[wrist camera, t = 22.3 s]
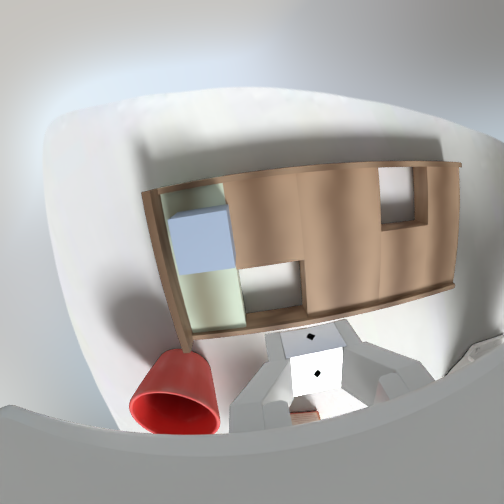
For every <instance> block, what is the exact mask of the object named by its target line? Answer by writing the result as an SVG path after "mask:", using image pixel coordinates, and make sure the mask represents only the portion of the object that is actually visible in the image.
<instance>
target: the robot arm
mask: <svg viewBox="0 0 504 504" xmlns="http://www.w3.org/2000/svg"><path fill="white" fill-rule="evenodd" d="M265 341H266V347H267V354H268V361H269V362H266V363H264V364H263V366H262V367H261V368H260V369H259V371H258V372H257V373H256V374H255V376H254V377H253V378H252V379H251V381H250V382H249V383H248V384H247V386H246V387H245V388H244V389H243V390H242V392H241V393H240V394H239V395H238V396H237V398H236V399H235V400H234V401H233V402H232V404H231V405H230V418H229V433H227V434H206V435H172V434H151V433H138V432H128V431H120V430H112V429H105V428H99V427H94V426H88V425H83V424H78V423H73V422H69V421H65V420H61V419H56V418H53V417H49V416H46V415H42V414H39V413H35V412H32V411H29V410H26V409H23V408H21V407H18V406H15V405H8V406H5V407H2V408H0V504H504V336H503V335H500V336H497V337H494V338H491V339H488V340H485V341H482V342H479V343H475V344H473V345H472V346H471V347H470V348H469V350H468V351H467V352H466V354H465V355H464V357H463V358H462V359H461V360H460V361H459V362H458V363H457V364H456V365H455V366H454V367H453V368H452V369H451V371H450V372H449V373H448V374H447V376H445V377H443V378H441V379H439V380H436V381H435V380H434V378H433V377H432V376H431V375H430V373H429V372H428V371H427V370H426V368H425V367H424V366H423V365H422V364H421V362H420V361H417V360H414V359H411V358H408V357H406V356H403V355H400V354H397V353H395V352H392V351H389V350H387V349H384V348H381V347H379V346H376V345H373V344H371V343H368V342H363V343H362V341H361V340H360V338H359V337H358V335H357V334H356V332H355V331H354V329H353V328H352V326H351V325H350V324H349V322H348V321H347V320H346V319H342V320H338V321H334V322H331V323H327V324H323V325H318V326H313V327H308V328H301V329H295V330H288V331H281V332H275V333H268V334H265ZM336 387H341V388H342V389H344V390H345V391H347V392H348V393H349V394H351V395H352V396H354V397H355V398H357V399H358V400H360V401H361V402H363V403H364V404H366V405H367V406H369V407H367V408H363V409H360V410H357V411H353V412H350V413H346V414H343V415H339V416H335V417H331V418H327V419H323V420H318V421H314V422H309V423H304V424H299V425H292V421H291V416H290V412H289V407H290V405H291V403H292V401H293V399H294V397H295V396H299V395H304V394H308V393H313V392H317V391H322V390H327V389H332V388H336Z"/></svg>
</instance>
